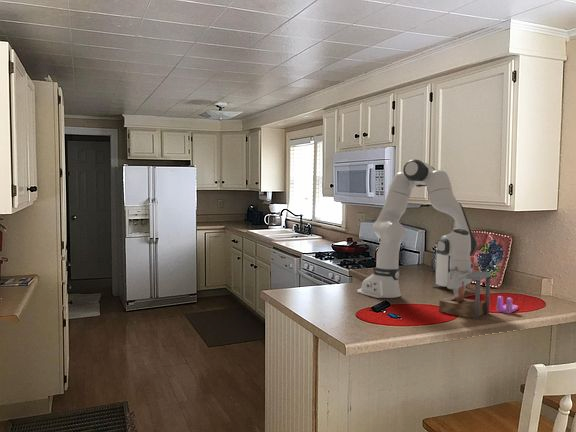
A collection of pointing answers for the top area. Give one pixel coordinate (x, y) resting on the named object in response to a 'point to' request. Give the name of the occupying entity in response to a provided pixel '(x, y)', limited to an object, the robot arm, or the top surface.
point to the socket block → (460, 307)
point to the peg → (460, 294)
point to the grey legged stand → (479, 276)
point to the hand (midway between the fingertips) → (459, 295)
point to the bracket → (505, 308)
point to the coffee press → (441, 269)
